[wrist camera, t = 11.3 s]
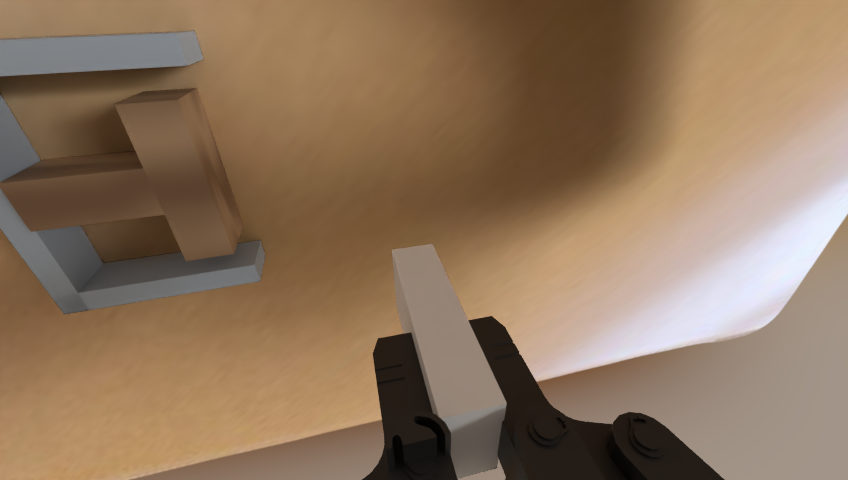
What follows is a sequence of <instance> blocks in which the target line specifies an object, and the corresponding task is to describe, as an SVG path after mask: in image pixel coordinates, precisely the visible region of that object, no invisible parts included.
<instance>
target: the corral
mask: <svg viewBox="0 0 848 480" xmlns="http://www.w3.org/2000/svg"><path fill="white" fill-rule="evenodd" d="M200 60H203V55H202V52H201V49H200V46H199V43H198V40H197V36H196V33H195V31H179V32H154V33H129V34H104V35H79V36H54V37H29V38H5V39H0V76H15V75H32V74H50V73H68V72H85V71H103V70H120V69H138V68H155V67H173V66H188V65H190V64H193V63H195V62H198V61H200ZM39 161H41V160H40V158H39V157H38V155H37V153H36V152H35V150H34V148H33V147H32V145H31V143H30V142H29V140H28V138H27V137H26V135H25V134H24V132H23V130H22V129H21V127H20V125H19V124H18V122H17V120H16V119H15V117H14V115H13V114H12V112H11V110H10V109H9V107H8V106H7V104H6V102H5V101H4V99H3V97H2V96H1V94H0V182H1V181H3V180H5V179H7V178H9V177H11V176H13V175H15V174H17V173H19V172H20V171H22V170H24V169H26V168H28V167H30V166H32V165H34V164H36V163H38V162H39ZM0 229H1V230H2V232H3V233H4V234H5V236H6V237H7V238H8V240H9V241H10V242H11V244H12V245H13V246H14V248H15V249H16V250H17V252H18V253H19V254H20V256H21V257H22V258H23V260H24V261H25V262H26V264H27V265H28V266H29V268H30V269H31V270H32V272H33V273H34V274H35V276H36V277H37V279H38V280H39V281H40V283H41V284H42V285H43V287H44V288H45V289H46V291H47V292H48V293H49V295H50V296H51V297H52V299H53V300H54V301H55V303H56V304H57V305H58V307H59V308H60V309H61V311H62V312H63V313H64V314H69V313H75V312H81V311H87V310H93V309H99V308H105V307H111V306H116V305H122V304H128V303H134V302H140V301H146V300H152V299H158V298H164V297H170V296H176V295H182V294H188V293H194V292H200V291H206V290H212V289H217V288H223V287H229V286H235V285H241V284H247V283H253V282H259V281H260V280H261V275H262V270H263V265H264V260H265V253H264V250H263V246H262V243H261V240H258V241H251V242H245V243H238V244H237V247H236V250H235V252H234V254H230V255H224V256H217V257H210V258H204V259H197V260H191V261H186V260H185V258H184V256H183V254H182V252H177V253H170V254H163V255H156V256H150V257H143V258H136V259H129V260H123V261H116V262H109V263H103V262H102V260H101V259H100V257H99V255H98V254H97V252H96V250H95V249H94V247H93V246H92V244H91V242H90V241H89V239H88V237H87V236H86V234H85V232H84V231H83V229H82V227H81V226H73V227H66V228H58V229H50V230H42V231H34V232H30V230H29V229H28V227H27V226H26V224H25V223H24V222H23V220H22V219H21V217H20V216H19V214H18V213H17V212H16V210H15V209H14V207H13V206H12V204H11V203H10V201H9V200H8V199H7V197H6V196H5V194H4V193H3V191H2V190H1V189H0Z"/></svg>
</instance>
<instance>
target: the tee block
mask: <svg viewBox="0 0 848 480" xmlns="http://www.w3.org/2000/svg"><path fill="white" fill-rule="evenodd" d="M114 105H115V108H116V110H117V112H118V114H119V116H120V118H121V121H122V123H123V125H124V127H125V129H126V132H127V134H128V136H129V138H130V140H131V142H132V145H133V147H134V149H135V151H127V152H117V153H107V154H96V155H86V156H76V157H65V158H55V159H44V160H41V161H39V162H38V163H36V164H34V165H32V166H30V167H28V168H26V169H24V170H22V171H20V172H19V173H17V174H15V175H13V176H11V177H9V178H7V179H5V180H3V181H1V182H0V189H1V190H2V191H3V193H4V194H5V196H6V197H7V199H8V200H9V201H10V203H11V204H12V206H13V207H14V209H15V210H16V212H17V213H18V214H19V216H20V217H21V219H22V220H23V222H24V223H25V224H26V226H27V227H28V229H29V230H30V232H34V231H42V230H50V229H58V228H66V227H73V226H81V225H89V224H97V223H104V222H112V221H120V220H128V219H136V218H143V217H151V216H159V215H165V217H166V219H167V221H168V223H169V225H170V228H171V230H172V232H173V234H174V236H175V239H176V241H177V243H178V245H179V247H180V249H181V252H182V254H183V256H184V258H185V260H186V261H191V260H197V259H204V258H210V257H217V256H224V255H230V254H234V252H235V250H236V247H237V244H238V241H239V238H240V235H241V232H242V229H243V223H242V220H241V217H240V214H239V211H238V208H237V205H236V202H235V199H234V196H233V193H232V191H231V188H230V185H229V182H228V179H227V176H226V173H225V170H224V167H223V164H222V161H221V158H220V155H219V152H218V149H217V146H216V143H215V140H214V137H213V134H212V131H211V128H210V125H209V122H208V119H207V116H206V113H205V110H204V107H203V104H202V101H201V98H200V95H199V92H198V89H197V88H189V89H175V90H160V91H145V92H142V93H139V94H137V95H135V96H133V97H130V98H128V99H126V100H123V101H121V102H119V103H117V104H114Z"/></svg>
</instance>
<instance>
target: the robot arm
mask: <svg viewBox="0 0 848 480" xmlns="http://www.w3.org/2000/svg"><path fill="white" fill-rule="evenodd" d="M392 259H393V270H394V281H395V292H396V303H397V310H398V314H399V318H400V322H401V326H402V330H403V334H400V335H395V336H389V337H384V338H379V339H378V340H377V343H376V346H375V349H374V352H373V359H374V366H375V373H376V380H377V387H378V394H379V401H380V408H381V416H382V423H383V430H384V440H385V441H384V443H385V445H384V450H383V454H382V457H381V459H380V461H379V463H378V465H377V466H376V467H375V468H374V470H373V471H372V472H371V473H370V474H369V475H368V476H366V477H365V478H364V479H363V480H458V478H462V477H466V476H470V475H473V474H477V473H480V472H485V471H488V470H492V469H496V468H497V463H498V458H499V460H500V463H501V465H502V468H503V470H504V473H505V476H506V479H505V480H724V479H723V478H722V477H721V476H720V475H719V474H718V473H716V472H715V471H714V470H713V469H712V468H711V467H710V466H709V465H708V464H706V463H705V462H704V461H703V460H702V459H701V458H700V457H699V456H697V455H696V454H695V453H694V452H693V451H692V450H691V449H689V448H688V447H687V446H686V445H685V444H684V443H683V442H682V441H681V440H680V439H679V438H677V437H676V436H675V435H674V434H673V433H672V432H671V431H670V430H669V429H668V428H666V427H665V426H664V425H662V424H661V423H660V422H658V421H657V420H655V419H654V418H651V417H649V416H647V415H644V414H642V413H633V412H628V413H625V414H622V415H619V416H618V417H617V419H616V420H615V421H614V422H613V424H604V423H593V422H583V421H578V420H574V419H571V418H569V417H567V416H565V415H564V414H563V413H561V412H560V411H558V410H557V409H555V408H553V406H551V405H550V403H549V402H548V401H547V399H546V398H545V397H544V395H543V393H542V391H541V389H540V388H539V386H538V384H537V382H536V381H535V379H534V377H533V375H532V374H531V372H530V370H529V368H528V367H527V365H526V363H525V361H524V360H523V358H522V356H521V355H520V354H519V351H518V349H517V347H516V346H515V344H514V343H513V340H512V339H511V337H510V335H509V333H508V332H507V330H506V328H505V327H504V326H503V325H502V324H501V323H499V322H498V321H497V320H496V319H494V318H493V317H492V316H489V317H484V318H479V319H474V320H468V319H467V317H466V315H465V312H464V310H463V308H462V306H461V304H460V302H459V300H458V297H457V295H456V293H455V291H454V289H453V287H452V285H451V282H450V280H449V278H448V276H447V274H446V272H445V270H444V267H443V265H442V263H441V261H440V259H439V257H438V255H437V252H436V250H435V248H434V246H433V244H427V245H420V246H414V247H407V248H400V249H393V250H392Z"/></svg>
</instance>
